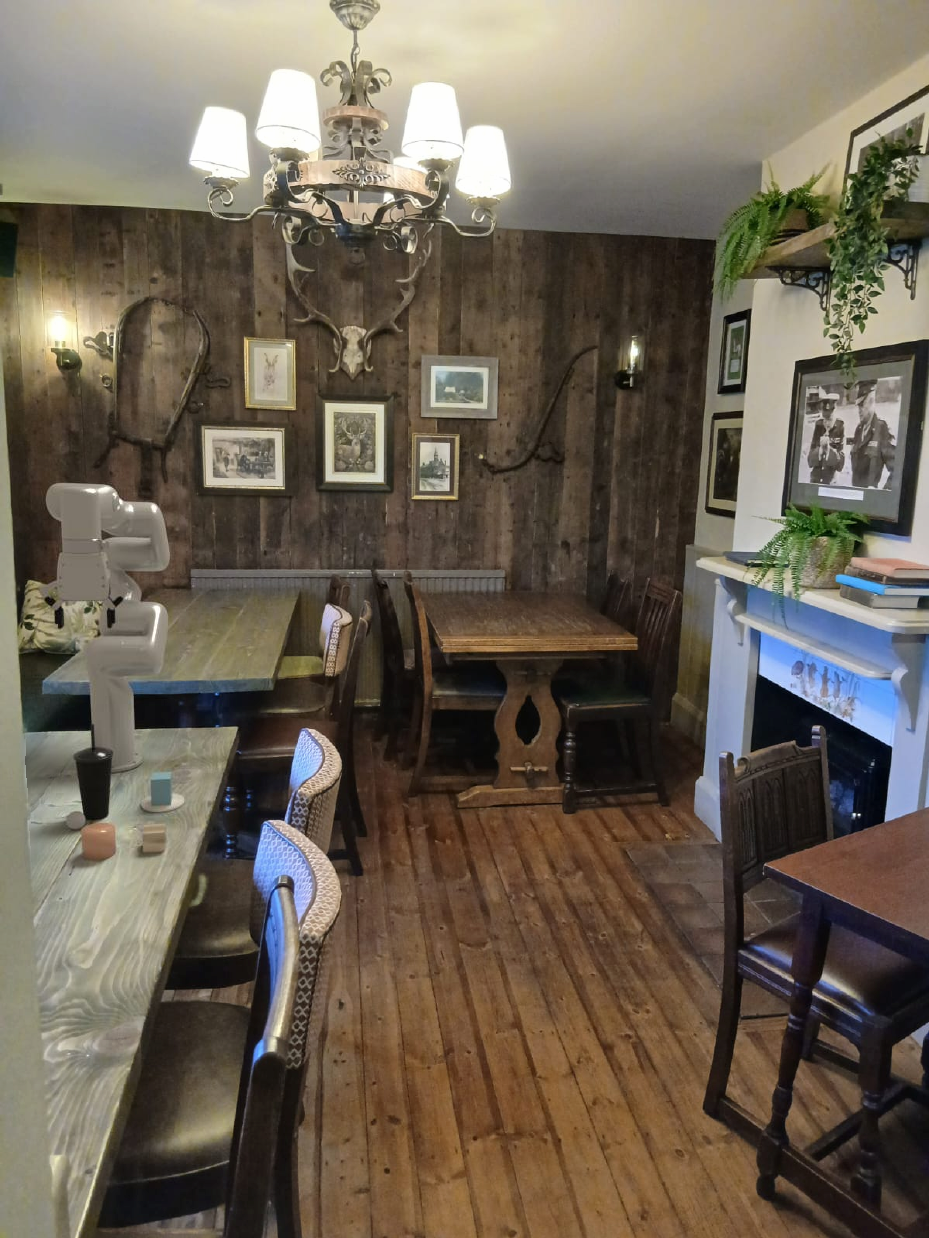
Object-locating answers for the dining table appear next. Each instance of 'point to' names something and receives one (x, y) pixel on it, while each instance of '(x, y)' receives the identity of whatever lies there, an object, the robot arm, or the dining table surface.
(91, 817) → the drinking cup
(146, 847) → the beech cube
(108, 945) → the dining table surface
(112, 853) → the peach cylinder
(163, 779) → the teal block
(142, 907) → the dining table surface
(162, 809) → the cream shiny round part
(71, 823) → the grey ball
